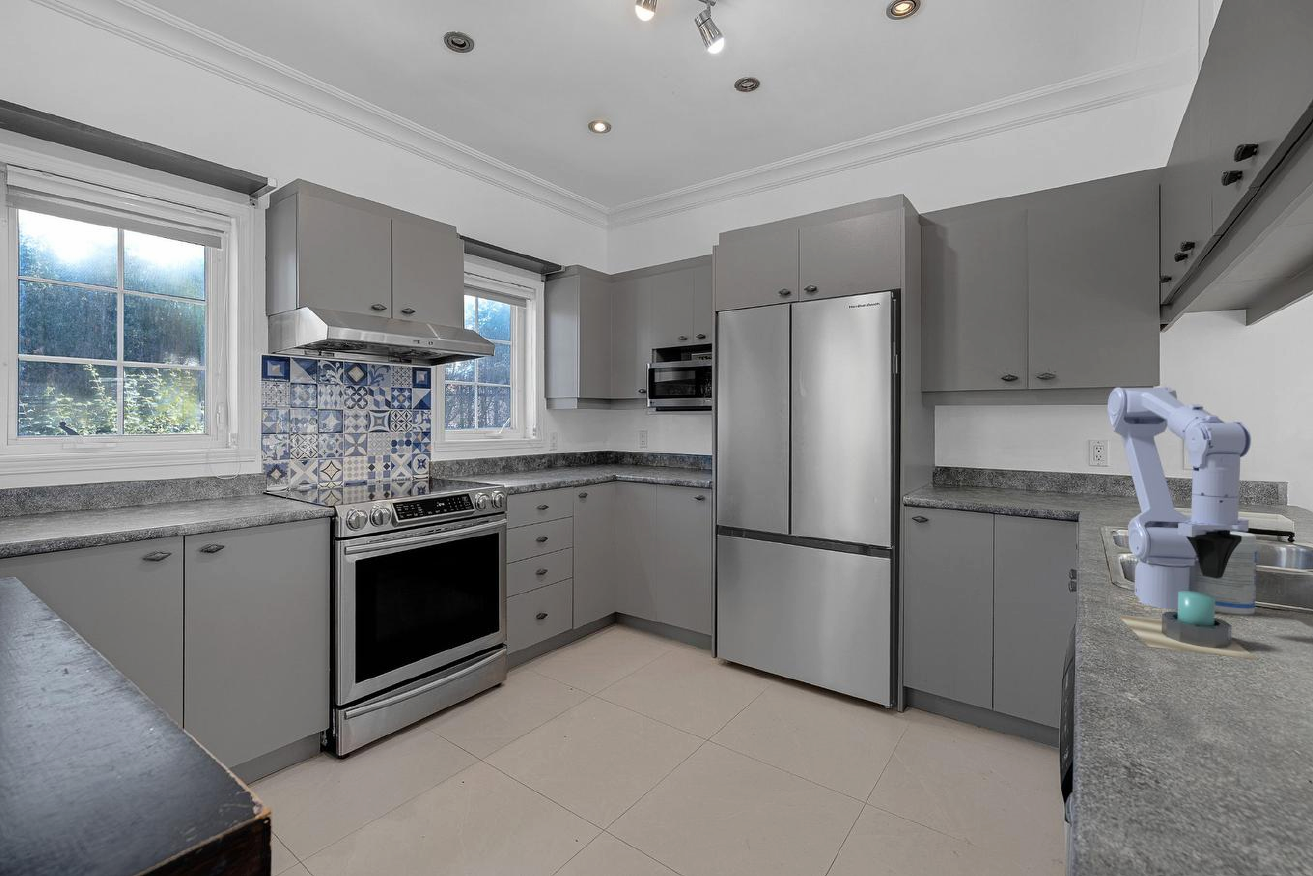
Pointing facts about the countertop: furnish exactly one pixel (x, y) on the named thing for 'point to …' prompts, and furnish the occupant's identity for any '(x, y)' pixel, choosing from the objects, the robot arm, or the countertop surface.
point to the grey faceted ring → (1196, 632)
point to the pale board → (1155, 638)
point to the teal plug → (1196, 608)
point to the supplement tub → (1231, 579)
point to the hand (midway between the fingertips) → (1212, 576)
